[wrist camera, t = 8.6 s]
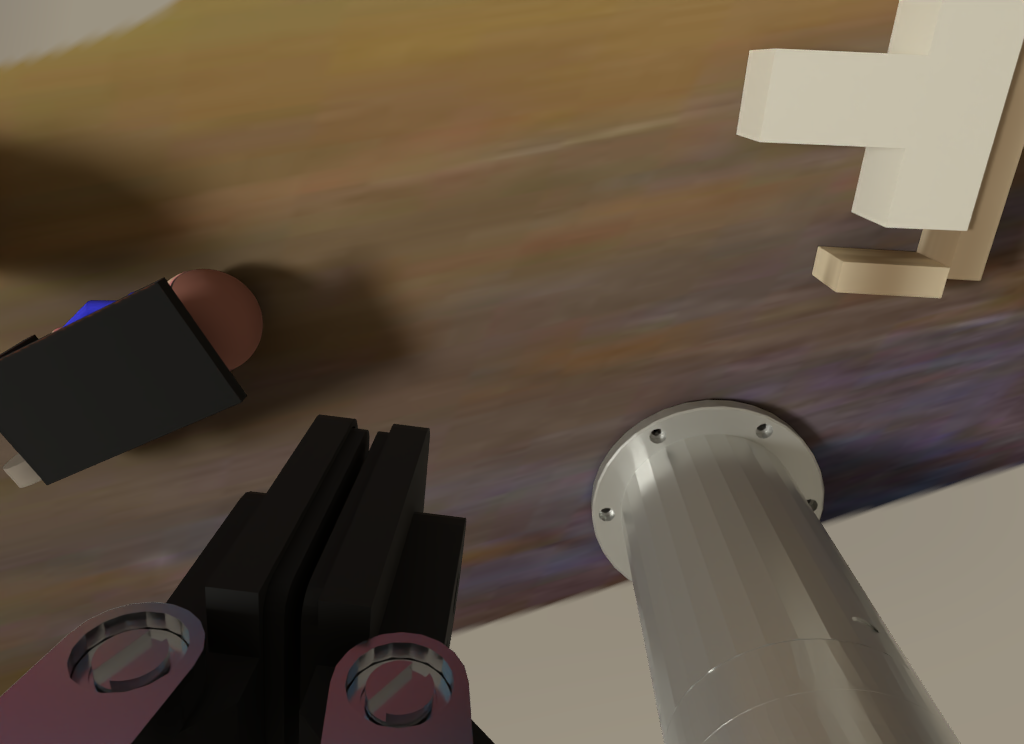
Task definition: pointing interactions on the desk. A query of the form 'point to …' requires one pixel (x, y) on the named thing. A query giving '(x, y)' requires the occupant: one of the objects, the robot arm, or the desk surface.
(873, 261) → the corner stop
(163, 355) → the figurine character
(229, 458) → the desk surface
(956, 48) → the t block
